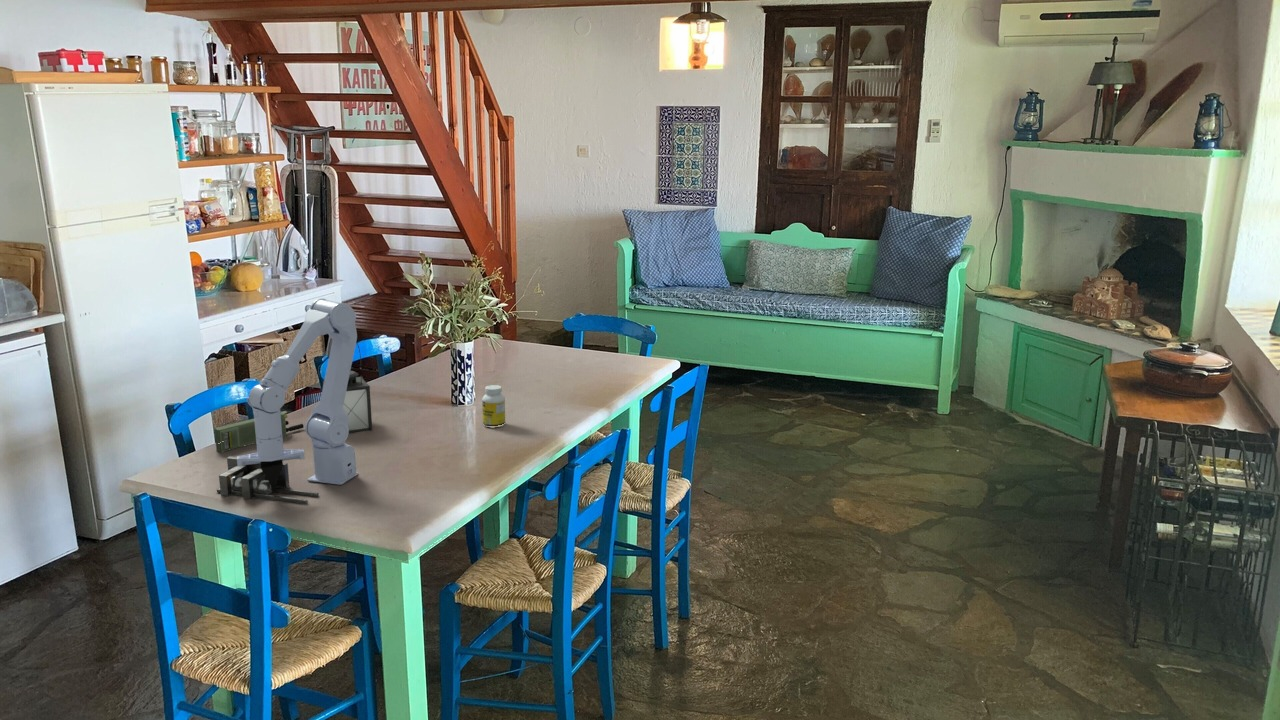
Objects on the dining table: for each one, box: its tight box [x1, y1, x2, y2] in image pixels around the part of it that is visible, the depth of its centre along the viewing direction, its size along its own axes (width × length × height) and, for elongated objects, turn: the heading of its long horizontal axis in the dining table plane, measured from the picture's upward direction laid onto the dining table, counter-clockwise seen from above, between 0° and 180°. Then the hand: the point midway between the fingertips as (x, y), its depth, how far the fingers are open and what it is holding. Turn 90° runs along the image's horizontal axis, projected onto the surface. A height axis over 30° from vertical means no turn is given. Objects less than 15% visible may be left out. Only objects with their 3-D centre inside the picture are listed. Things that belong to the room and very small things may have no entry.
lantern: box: [322, 337, 373, 434], centre depth 268 cm, size 11×11×28 cm
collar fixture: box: [216, 456, 320, 505], centre depth 222 cm, size 26×9×7 cm, turn 75°
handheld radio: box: [214, 410, 304, 453], centre depth 259 cm, size 7×3×25 cm
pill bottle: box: [481, 384, 506, 427], centre depth 273 cm, size 6×6×12 cm
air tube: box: [231, 476, 274, 495], centre depth 223 cm, size 12×3×3 cm, turn 75°
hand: (273, 490), depth 221 cm, fingers closed
